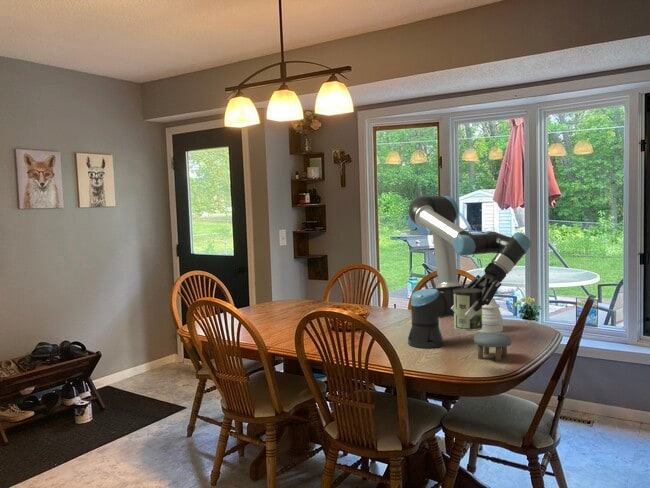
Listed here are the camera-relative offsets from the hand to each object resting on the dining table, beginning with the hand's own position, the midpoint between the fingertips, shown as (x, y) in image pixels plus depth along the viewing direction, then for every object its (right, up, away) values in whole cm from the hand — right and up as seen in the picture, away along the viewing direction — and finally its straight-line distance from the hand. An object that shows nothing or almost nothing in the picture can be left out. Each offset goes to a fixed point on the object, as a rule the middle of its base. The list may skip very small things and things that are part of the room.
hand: (460, 313), depth 194 cm
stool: (+16, -19, +15) cm, 29 cm away
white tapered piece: (+29, -15, +59) cm, 68 cm away
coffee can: (+3, -6, +1) cm, 6 cm away
